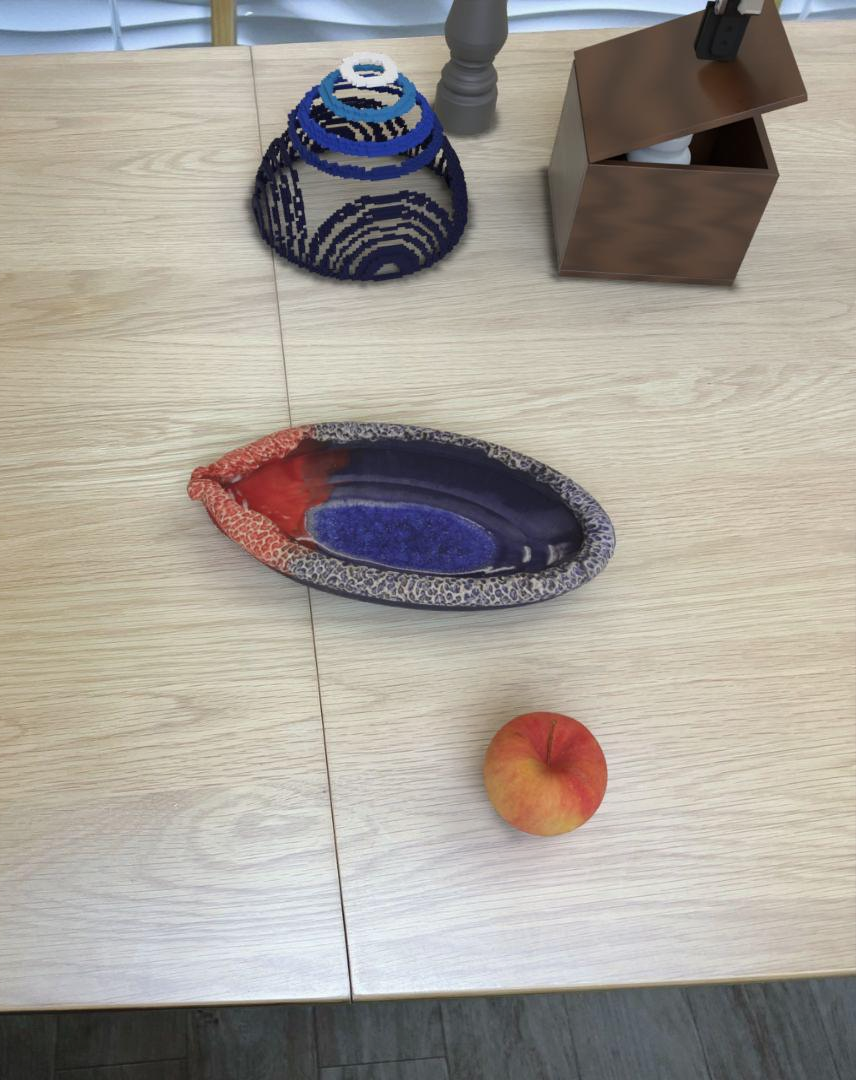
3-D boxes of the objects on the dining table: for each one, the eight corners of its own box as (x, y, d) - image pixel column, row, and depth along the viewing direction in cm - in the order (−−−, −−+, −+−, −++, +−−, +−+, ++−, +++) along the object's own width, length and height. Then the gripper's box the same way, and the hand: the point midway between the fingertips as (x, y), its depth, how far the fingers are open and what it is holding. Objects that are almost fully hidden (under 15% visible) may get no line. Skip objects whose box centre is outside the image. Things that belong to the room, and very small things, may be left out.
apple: (486, 861, 67) (507, 811, 61) (464, 751, 71) (483, 694, 65) (602, 851, 68) (636, 800, 61) (574, 742, 72) (603, 684, 65)
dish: (597, 664, 75) (615, 627, 71) (167, 584, 78) (161, 544, 74) (608, 492, 84) (624, 450, 80) (221, 426, 87) (218, 382, 83)
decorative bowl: (495, 264, 100) (523, 122, 88) (280, 295, 96) (280, 153, 85) (430, 136, 111) (447, -5, 99) (236, 160, 108) (230, 18, 96)
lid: (770, -5, 93) (770, -13, 92) (807, 101, 84) (807, 93, 83) (575, 57, 98) (573, 51, 98) (590, 163, 89) (588, 156, 89)
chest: (706, 180, 108) (747, 68, 98) (731, 287, 99) (780, 175, 89) (547, 171, 108) (573, 58, 98) (558, 276, 99) (588, 164, 89)
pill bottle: (663, 244, 100) (696, 150, 92) (602, 230, 101) (629, 136, 93) (672, 208, 104) (705, 113, 96) (612, 194, 105) (639, 100, 97)
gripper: (882, -148, 70) (776, 111, 85) (832, -240, 79) (743, 9, 93) (765, -155, 70) (679, 105, 85) (727, -246, 79) (655, 4, 94)
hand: (713, 54), depth 89 cm, fingers closed
